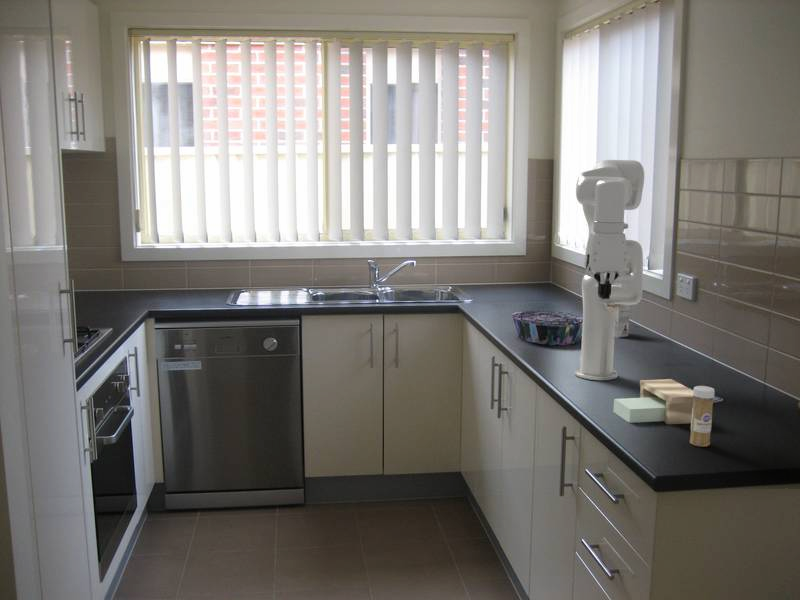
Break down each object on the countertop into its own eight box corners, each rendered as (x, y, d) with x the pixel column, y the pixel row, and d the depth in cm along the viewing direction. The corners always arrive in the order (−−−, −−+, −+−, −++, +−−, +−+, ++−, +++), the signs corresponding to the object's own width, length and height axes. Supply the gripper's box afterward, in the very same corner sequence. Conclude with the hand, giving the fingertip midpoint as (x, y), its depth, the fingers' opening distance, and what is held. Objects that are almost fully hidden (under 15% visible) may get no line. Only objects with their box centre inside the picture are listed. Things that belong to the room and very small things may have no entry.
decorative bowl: (562, 334, 321) (562, 308, 320) (602, 345, 295) (602, 316, 294) (501, 338, 313) (501, 311, 312) (536, 349, 287) (536, 320, 286)
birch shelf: (638, 405, 225) (640, 380, 224) (669, 404, 227) (671, 379, 226) (669, 424, 210) (671, 397, 209) (702, 423, 212) (704, 396, 210)
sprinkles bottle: (699, 448, 193) (703, 391, 191) (685, 442, 197) (689, 386, 195) (714, 445, 195) (719, 389, 193) (700, 439, 199) (704, 384, 197)
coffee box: (598, 333, 316) (600, 290, 313) (610, 331, 319) (612, 289, 317) (617, 338, 308) (620, 294, 306) (629, 336, 312) (632, 293, 309)
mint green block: (613, 411, 220) (614, 398, 219) (670, 409, 223) (671, 396, 222) (629, 422, 211) (630, 409, 210) (688, 419, 214) (689, 406, 213)
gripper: (628, 225, 223) (624, 294, 227) (575, 226, 220) (571, 296, 224) (642, 229, 216) (637, 300, 220) (586, 230, 213) (582, 302, 217)
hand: (604, 297), depth 222 cm, fingers closed
